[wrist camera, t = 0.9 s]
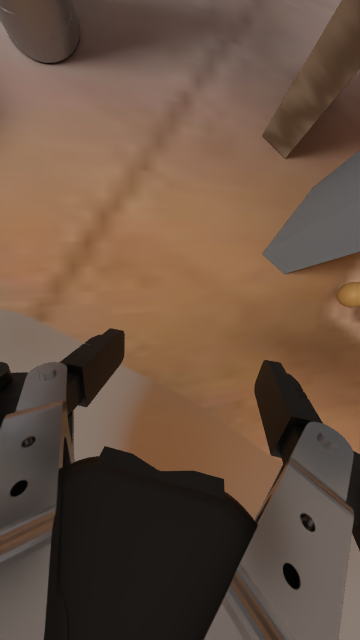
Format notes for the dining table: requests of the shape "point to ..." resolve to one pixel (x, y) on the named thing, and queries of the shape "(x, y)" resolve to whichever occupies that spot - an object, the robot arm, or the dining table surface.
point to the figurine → (349, 294)
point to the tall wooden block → (318, 79)
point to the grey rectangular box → (322, 222)
